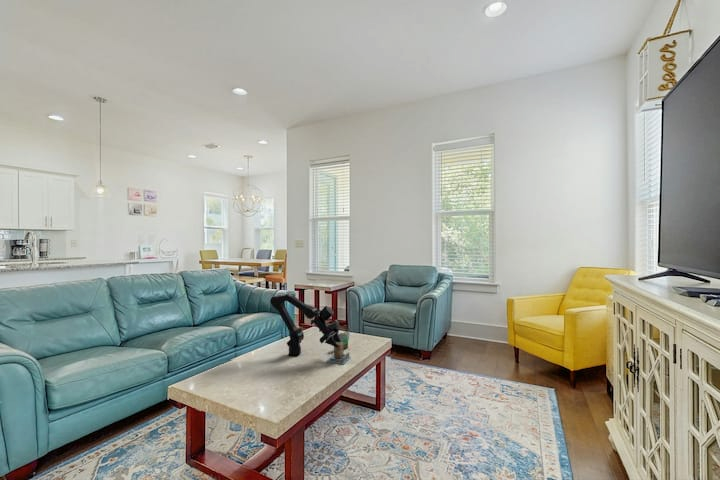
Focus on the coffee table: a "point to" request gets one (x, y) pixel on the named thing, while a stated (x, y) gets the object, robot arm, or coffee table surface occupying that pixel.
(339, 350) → the walnut block
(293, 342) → the robot arm
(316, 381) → the coffee table surface
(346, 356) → the cradle
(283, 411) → the coffee table surface
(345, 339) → the food container
